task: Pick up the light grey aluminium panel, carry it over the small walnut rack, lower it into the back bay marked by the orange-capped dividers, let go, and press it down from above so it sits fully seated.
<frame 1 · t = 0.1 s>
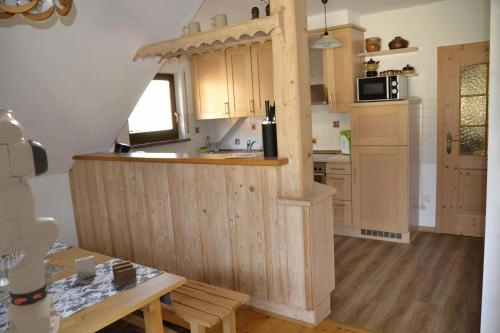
hand: (12, 183, 169), 48 cm above the table, tool pointing down, fingers open, 8 cm apart
walnut rack: (125, 279, 185), on the table
aluminium panel: (86, 276, 190), on the table
light bulb box: (38, 287, 181), on the table
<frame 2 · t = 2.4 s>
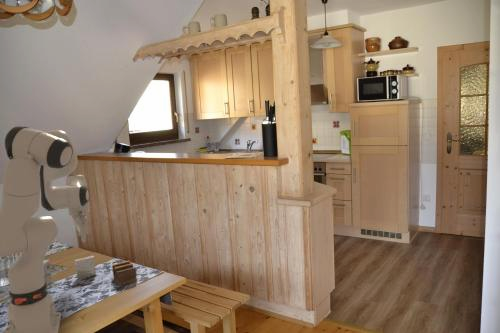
hand: (82, 238, 187), 18 cm above the table, tool pointing down, fingers open, 8 cm apart
nothing on the table moved.
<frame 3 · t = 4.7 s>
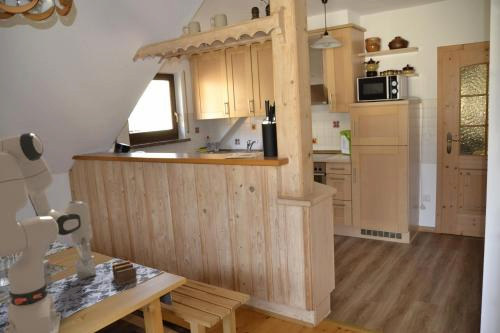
hand: (85, 264, 189), 6 cm above the table, tool pointing down, fingers closed on aluminium panel, 2 cm apart
aluminium panel: (86, 276, 190), on the table, touching gripper
everything else where it was.
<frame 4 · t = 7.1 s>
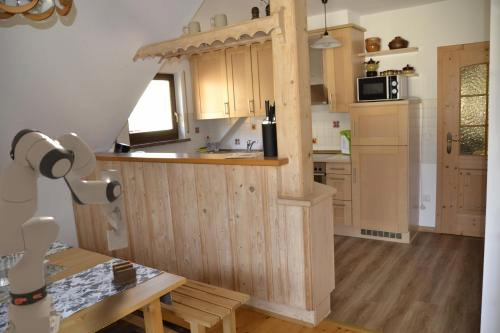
hand: (117, 235, 184), 20 cm above the table, tool pointing down, fingers closed on aluminium panel
aluminium panel: (118, 248, 185), point 14 cm above the table, touching gripper
everything else where it was.
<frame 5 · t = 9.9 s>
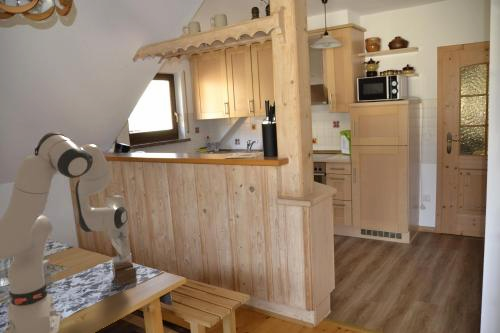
hand: (121, 259, 185), 9 cm above the table, tool pointing down, fingers open, 3 cm apart
aluminium panel: (123, 274, 186), point 1 cm above the table, touching walnut rack
everything else where it was.
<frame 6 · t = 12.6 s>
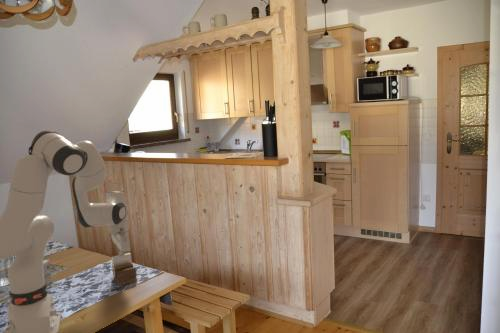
hand: (122, 255, 185), 11 cm above the table, tool pointing down, fingers closed, pressing on aluminium panel
aluminium panel: (123, 274, 186), point 2 cm above the table, touching gripper, walnut rack
everything else where it was.
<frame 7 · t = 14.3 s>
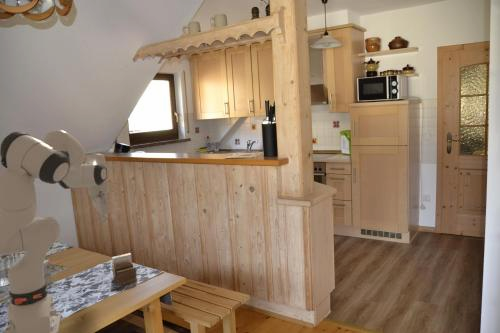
hand: (102, 220, 183), 27 cm above the table, tool pointing down, fingers closed
aluminium panel: (123, 274, 186), point 2 cm above the table, touching walnut rack
everything else where it was.
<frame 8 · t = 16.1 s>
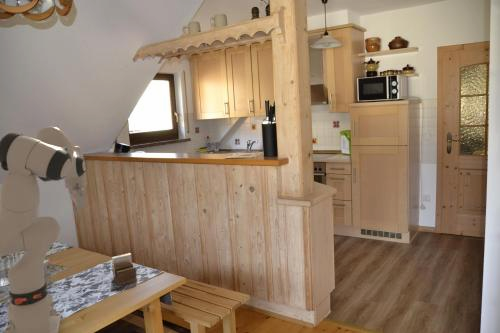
hand: (79, 212, 183), 31 cm above the table, tool pointing down, fingers closed
nothing on the table moved.
at the end: aluminium panel 0.1 cm from the target spot on the walnut rack, point 1.5 cm above the walnut rack's base; aluminium panel tilted 0°; the gripper is holding nothing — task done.
